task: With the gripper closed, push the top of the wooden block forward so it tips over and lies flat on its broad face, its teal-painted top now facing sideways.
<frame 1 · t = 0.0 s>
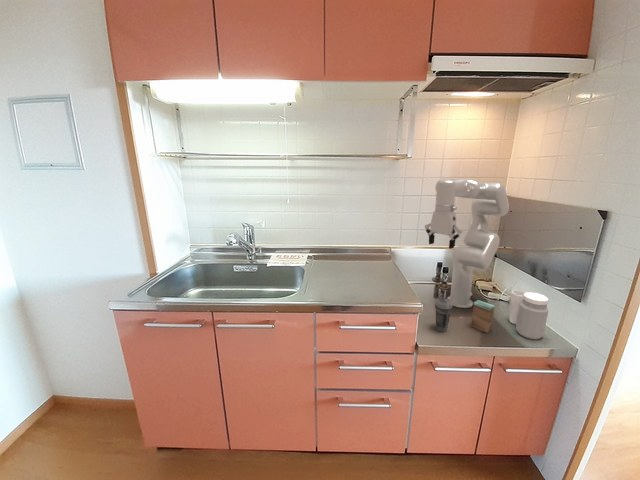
hand: (441, 245, 125), 37 cm above the countertop, tool pointing down, fingers open, 9 cm apart
beverage cup: (441, 329, 125), on the countertop
wooden block: (480, 327, 125), on the countertop
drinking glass: (515, 322, 129), on the countertop
jar: (528, 334, 120), on the countertop
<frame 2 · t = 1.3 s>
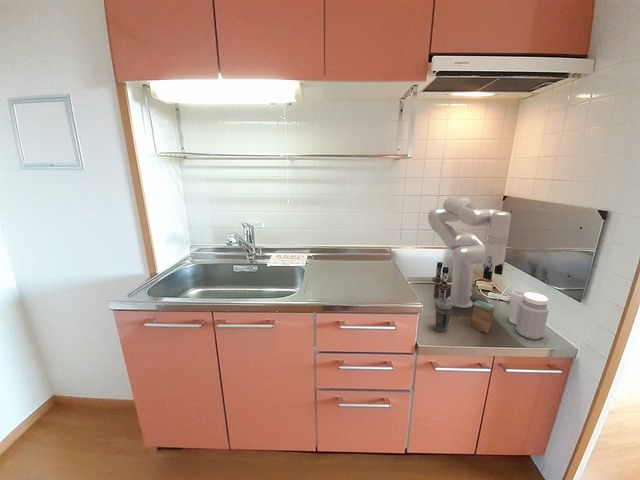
hand: (492, 276, 124), 23 cm above the countertop, tool pointing down, fingers open, 9 cm apart
nothing on the countertop moved.
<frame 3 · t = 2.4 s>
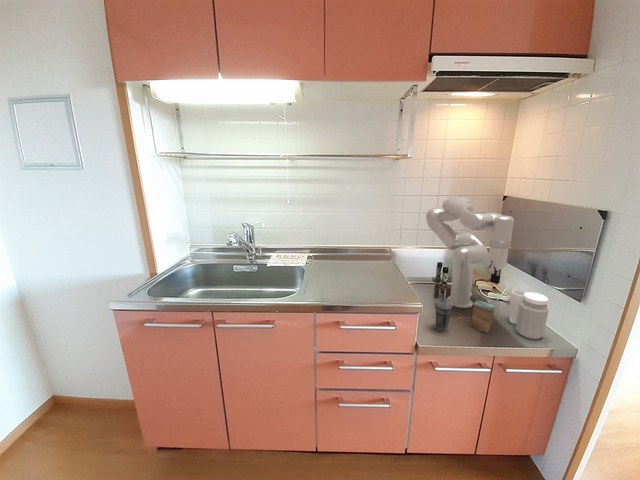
hand: (494, 282, 124), 20 cm above the countertop, tool pointing down, fingers closed
nothing on the countertop moved.
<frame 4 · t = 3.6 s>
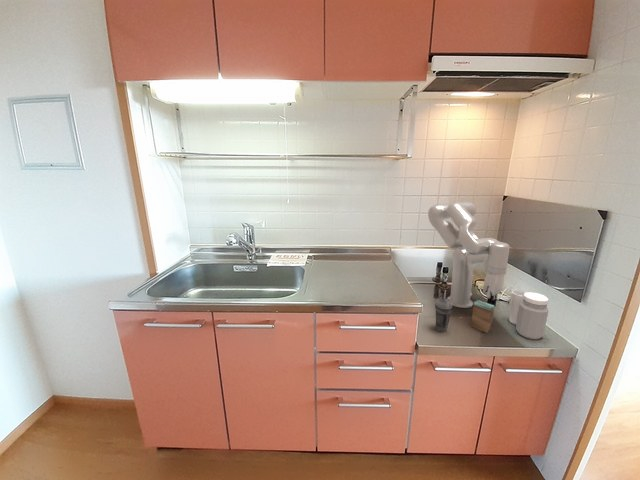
hand: (490, 306, 127), 8 cm above the countertop, tool pointing down, fingers closed
nothing on the countertop moved.
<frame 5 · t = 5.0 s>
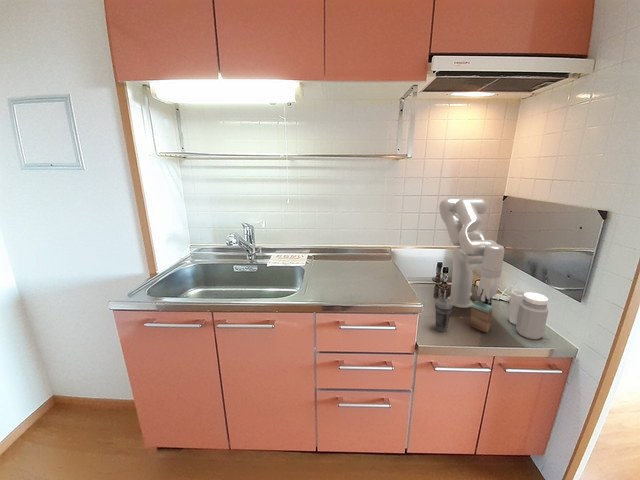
hand: (485, 310, 124), 8 cm above the countertop, tool pointing down, fingers closed
wooden block: (480, 327, 125), on the countertop, tilted 11°
everything else where it was.
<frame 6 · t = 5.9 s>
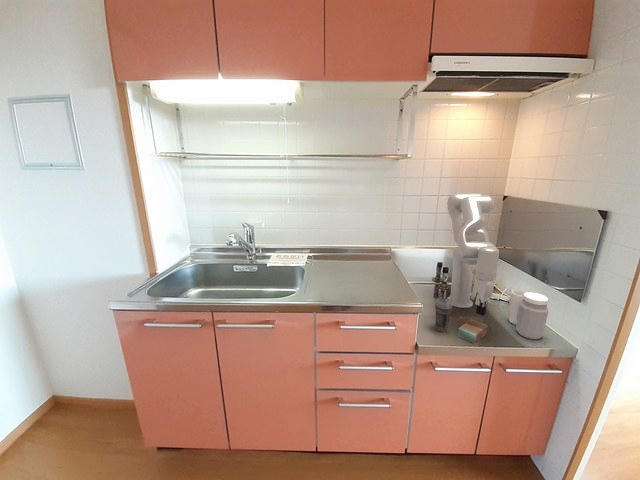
hand: (480, 313, 121), 8 cm above the countertop, tool pointing down, fingers closed
wooden block: (479, 325, 123), point 2 cm above the countertop, tilted 90°
everything else where it was.
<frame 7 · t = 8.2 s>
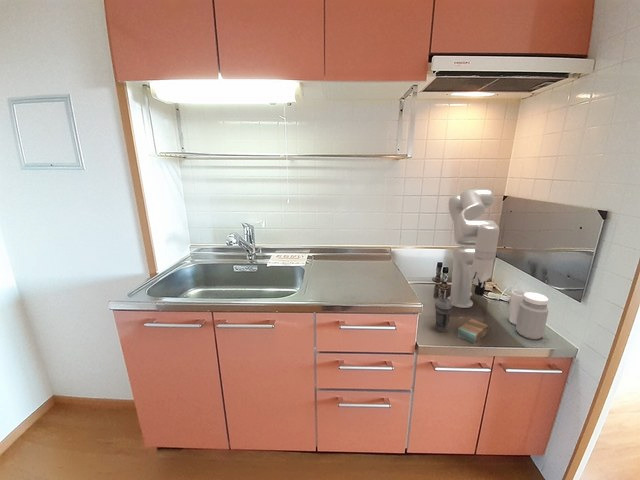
hand: (479, 294, 118), 18 cm above the countertop, tool pointing down, fingers closed
nothing on the countertop moved.
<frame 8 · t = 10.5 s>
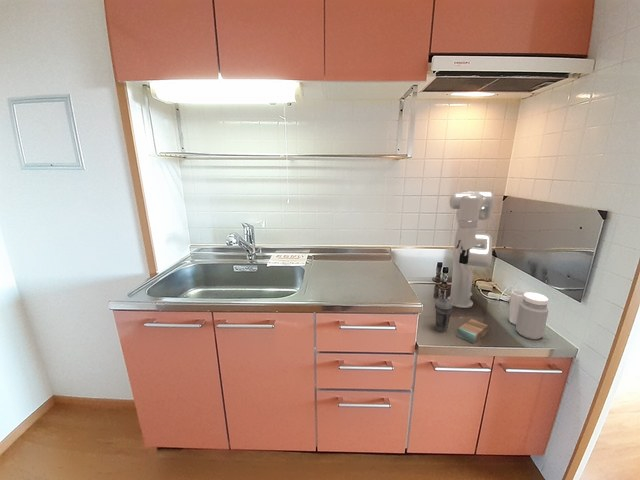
hand: (463, 263, 124), 29 cm above the countertop, tool pointing down, fingers closed
nothing on the countertop moved.
at the end: wooden block tilted 90°; wooden block inside the target area (1.9 cm from its centre), point 1.8 cm above the countertop; wooden block touching countertop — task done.
